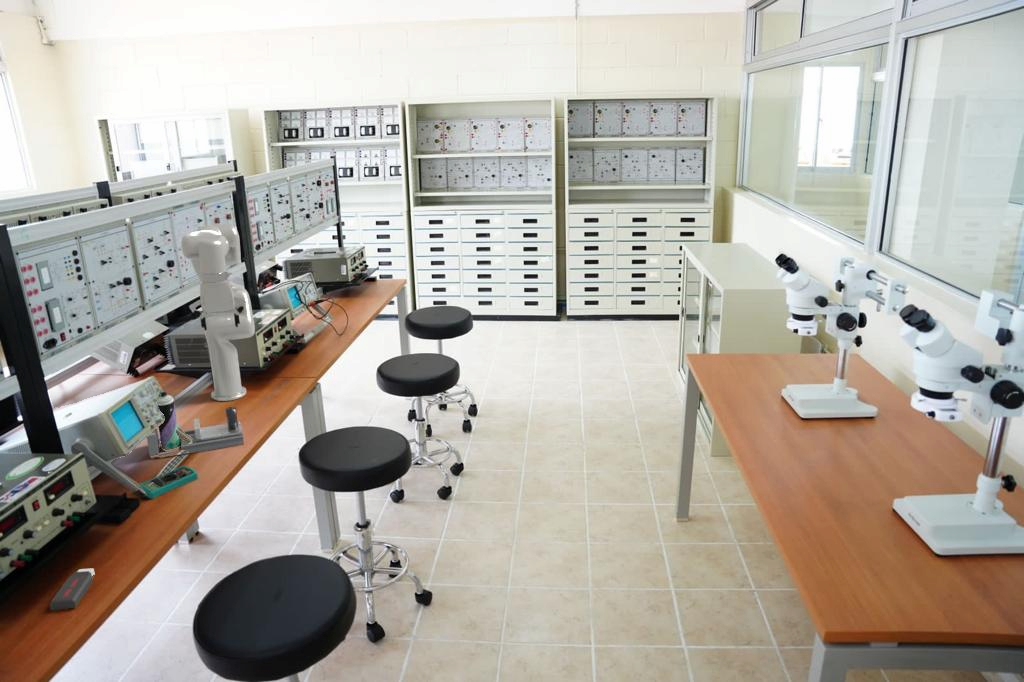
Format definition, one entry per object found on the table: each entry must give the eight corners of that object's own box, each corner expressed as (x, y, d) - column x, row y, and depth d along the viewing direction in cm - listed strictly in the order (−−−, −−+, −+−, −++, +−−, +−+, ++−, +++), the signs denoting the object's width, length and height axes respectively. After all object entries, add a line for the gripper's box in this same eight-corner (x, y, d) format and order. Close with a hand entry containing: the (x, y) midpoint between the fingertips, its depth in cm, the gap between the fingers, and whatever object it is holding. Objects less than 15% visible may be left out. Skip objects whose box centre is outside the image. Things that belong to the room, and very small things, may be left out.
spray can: (160, 453, 218) (151, 395, 211) (164, 445, 223) (154, 388, 216) (179, 451, 219) (170, 394, 213) (182, 443, 224) (173, 387, 218)
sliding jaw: (196, 434, 227) (192, 409, 224) (241, 426, 233) (238, 402, 230) (196, 445, 220) (192, 419, 217) (243, 437, 225) (239, 412, 222)
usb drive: (50, 612, 151) (48, 601, 150) (76, 576, 162) (73, 567, 161) (76, 610, 152) (73, 599, 151) (99, 574, 163) (97, 565, 162)
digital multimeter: (200, 479, 204) (199, 470, 203) (151, 501, 193) (149, 492, 192) (186, 471, 208) (185, 463, 207) (138, 492, 197) (136, 484, 196)
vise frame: (151, 443, 224) (147, 421, 221) (241, 428, 235) (238, 407, 232) (150, 460, 213) (146, 437, 211) (244, 444, 224) (241, 422, 222)
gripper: (242, 272, 229) (247, 321, 234) (185, 277, 222) (192, 327, 227) (243, 277, 222) (249, 327, 227) (185, 282, 215) (192, 333, 221)
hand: (221, 327), depth 227 cm, fingers open, 9 cm apart
